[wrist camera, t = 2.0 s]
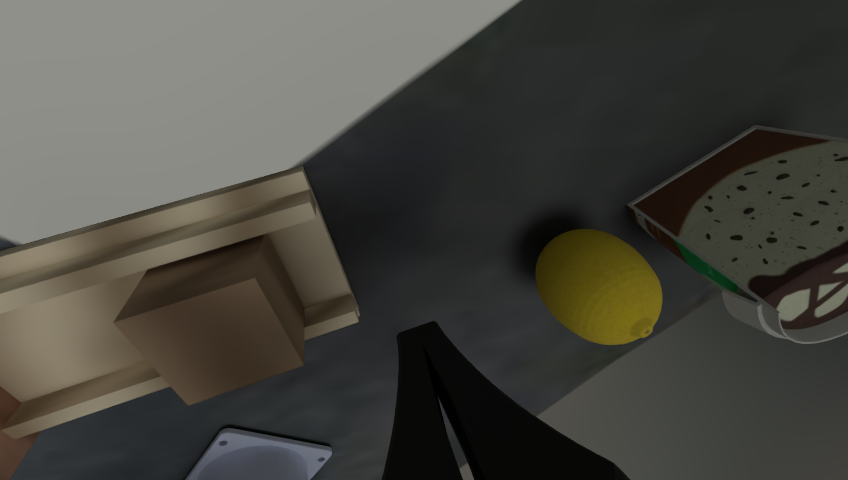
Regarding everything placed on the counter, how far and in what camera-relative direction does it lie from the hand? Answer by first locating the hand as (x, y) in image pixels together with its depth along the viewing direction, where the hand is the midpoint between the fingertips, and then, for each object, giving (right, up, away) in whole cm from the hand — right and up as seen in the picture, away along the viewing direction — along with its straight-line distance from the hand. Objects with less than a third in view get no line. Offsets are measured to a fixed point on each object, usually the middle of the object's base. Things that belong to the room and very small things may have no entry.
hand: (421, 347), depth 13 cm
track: (-13, +1, +6) cm, 15 cm away
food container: (+18, +6, +13) cm, 23 cm away
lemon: (+8, +3, +11) cm, 14 cm away
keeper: (-9, +1, +5) cm, 11 cm away
